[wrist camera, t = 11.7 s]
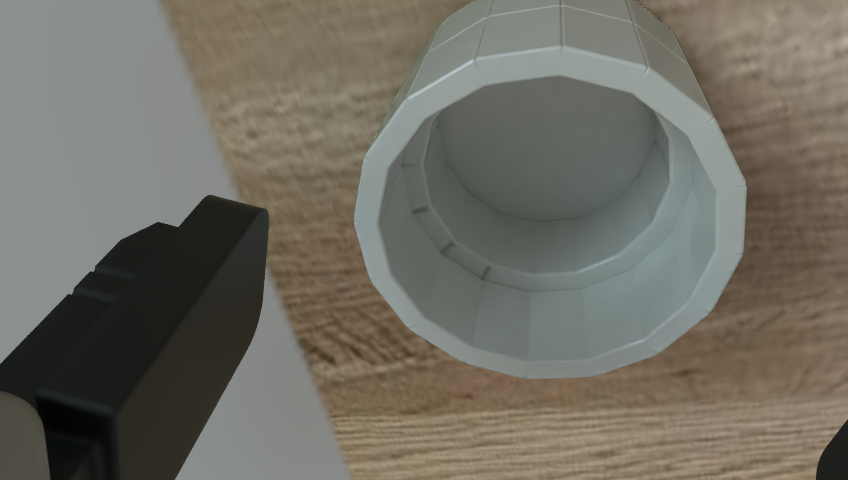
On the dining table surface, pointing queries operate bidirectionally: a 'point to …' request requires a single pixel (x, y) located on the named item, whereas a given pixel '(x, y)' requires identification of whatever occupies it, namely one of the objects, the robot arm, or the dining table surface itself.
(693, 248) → the grey handleless cup
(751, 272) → the dining table surface
